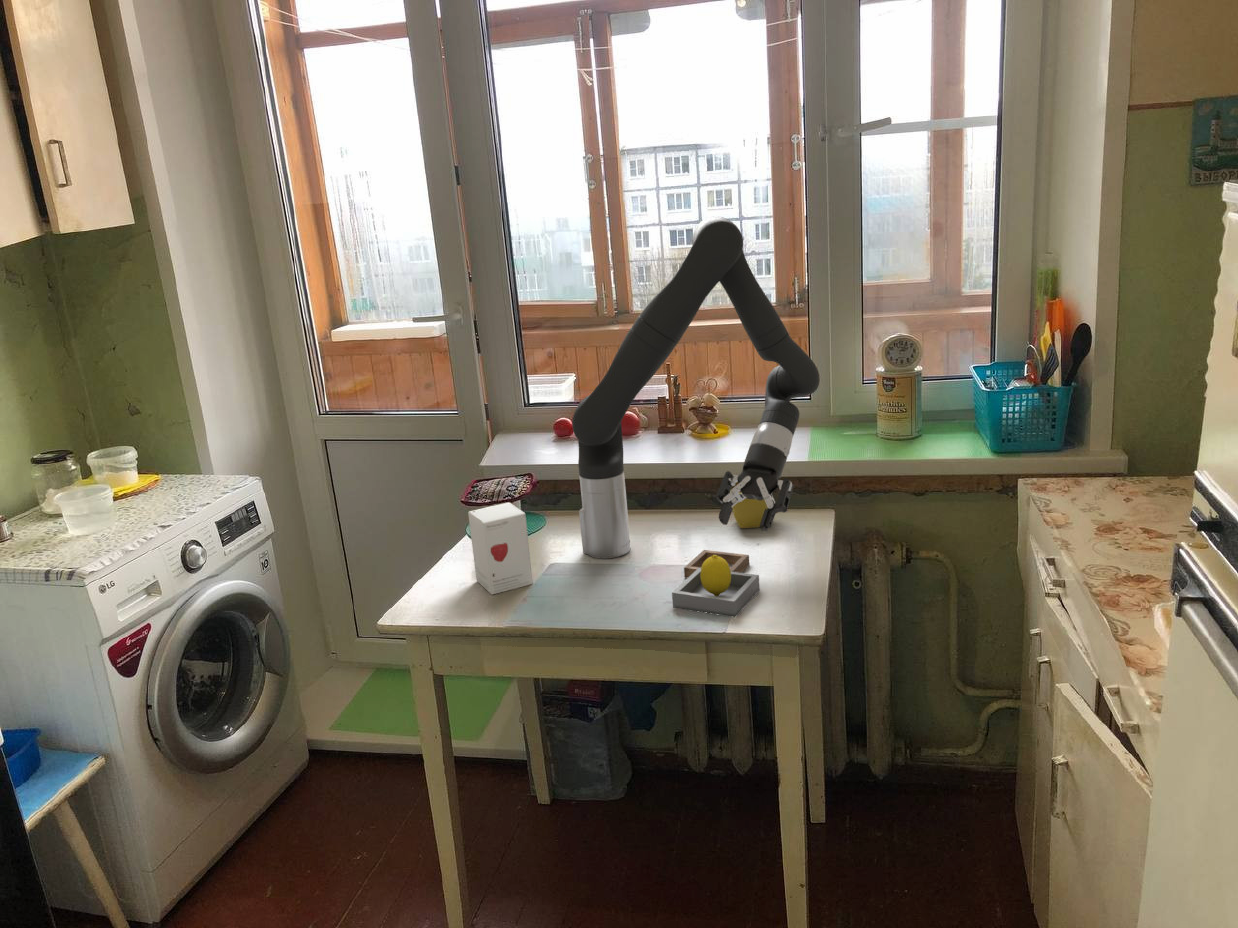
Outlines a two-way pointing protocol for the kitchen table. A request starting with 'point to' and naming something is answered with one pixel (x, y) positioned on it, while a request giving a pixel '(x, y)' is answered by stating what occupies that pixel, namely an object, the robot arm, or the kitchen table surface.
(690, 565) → the wooden square frame
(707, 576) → the lemon
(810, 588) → the kitchen table surface
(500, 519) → the supplement box
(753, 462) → the robot arm
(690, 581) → the charcoal tray
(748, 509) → the flower pot
